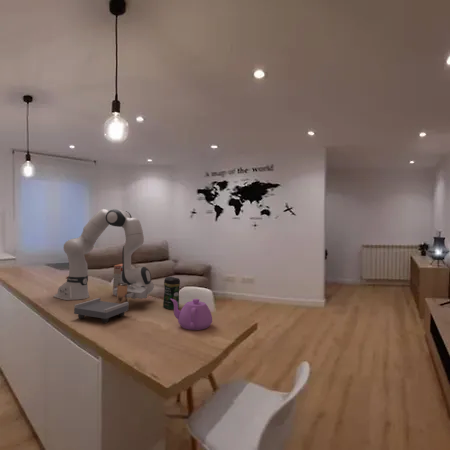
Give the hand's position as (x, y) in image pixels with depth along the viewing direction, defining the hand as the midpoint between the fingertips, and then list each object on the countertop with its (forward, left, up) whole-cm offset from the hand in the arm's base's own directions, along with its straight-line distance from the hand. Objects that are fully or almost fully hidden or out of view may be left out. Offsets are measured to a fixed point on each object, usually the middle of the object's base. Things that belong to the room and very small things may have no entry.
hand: (121, 295), depth 192 cm
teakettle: (+48, -8, -9) cm, 50 cm away
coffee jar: (+22, +19, -9) cm, 31 cm away
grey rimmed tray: (0, -16, -9) cm, 18 cm away
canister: (0, +1, -7) cm, 8 cm away
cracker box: (-26, +35, -9) cm, 44 cm away
